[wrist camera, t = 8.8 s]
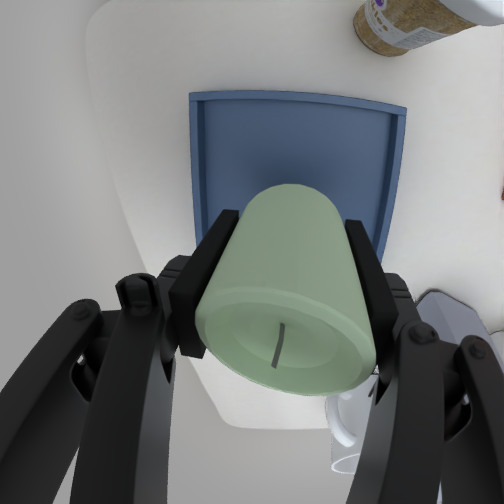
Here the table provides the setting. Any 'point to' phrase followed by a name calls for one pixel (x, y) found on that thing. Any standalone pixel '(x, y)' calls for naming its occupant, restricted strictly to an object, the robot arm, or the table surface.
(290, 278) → the candle
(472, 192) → the table surface
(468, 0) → the sprinkles bottle
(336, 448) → the mug
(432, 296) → the soap bottle
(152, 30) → the table surface
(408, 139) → the table surface
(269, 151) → the blue tray
